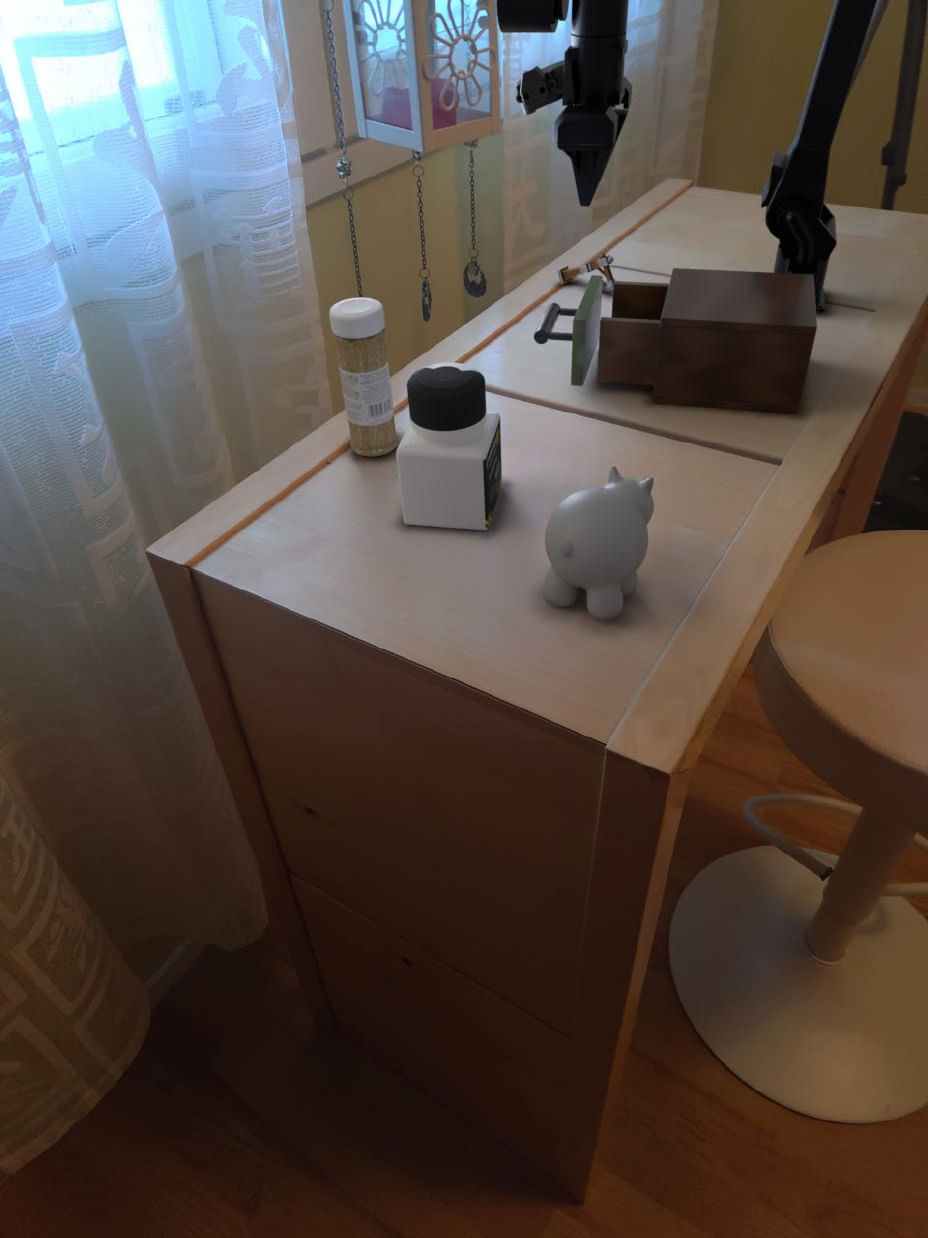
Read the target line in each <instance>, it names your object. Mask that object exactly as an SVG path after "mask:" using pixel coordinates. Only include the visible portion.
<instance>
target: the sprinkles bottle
mask: <svg viewBox="0 0 928 1238" xmlns="http://www.w3.org/2000/svg"><path fill="white" fill-rule="evenodd" d="M329 322H330V328H331V332H332V335H333V337H334V338H335V339H334V340H335V346H336V353H337V359H338V370H339V376H340V381H341V389H342V395H343V402H344V409H345V415H346V419H347V423H348V429H349V436H350V448H351V449H352V451H353V452H354V453H356V454H357V455H359V456H362V457H368V458H369V457H370V458H371V457H380V456H384V455H387V454H389V453H391V452H393V451H394V450H395V449H396V448H397V446H398V445H399V438H398V435H397V431H396V422H395V409H394V401H393V392H392V381H391V375H390V366H389V360H388V354H387V346H386V338H385V329H386V328H385V327H386V320H385V312H384V307H383V304H382V303H381V302H380V301H379V300H377V299H374V298H370V297H352V298H350V297H349V298H346V299H343V300H339V301H337V302H336V303H334V304H333V305H332V306H331V307H330V309H329Z"/></svg>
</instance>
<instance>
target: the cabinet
mask: <svg viewBox="0 0 928 1238" xmlns="http://www.w3.org/2000/svg"><path fill="white" fill-rule="evenodd" d="M668 284H669V287H668V291H667V295H666V300H665V304H664V308H663V312H662V316H661V323H660V333H659V343H658V353H657V363H656V373H655V382H654V385H653V394H652V403H653V404H661V405H662V404H663V405H676V406H687V407H700V408H713V409H714V408H715V409H725V410H737V411H751V412H763V413H775V414H777V413H778V414H787V415H798V414H799V410H800V407H801V401H802V397H803V392H804V388H805V383H806V381H807V380H806V379H807V375H808V370H809V366H810V361H811V356H812V352H813V348H814V343H815V338H816V334H817V329H818V323H817V322H818V321H817V312H816V305H815V290H814V276H813V274H793V273H773V272H771V271H770V272H768V271H767V272H766V271H745V270H727V269H726V270H723V269H704V268H703V269H702V268H701V269H700V268H683V267H682V268H680V267H679V268H678V267H673V268H672V271H671V276H670V280H669V283H668Z"/></svg>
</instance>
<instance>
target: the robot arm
mask: <svg viewBox="0 0 928 1238" xmlns="http://www.w3.org/2000/svg"><path fill="white" fill-rule="evenodd" d="M495 2H496V3H495V5H496V7H495V8H496V19H497V20H496V21H497V26H498V29H499V31H500V32H501V33H502V34H510V33H511V34H512V33H513V34H514V33H515V34H521V33H522V34H529V33H531V34H540V33H541V34H542V33H545V34H546V33H547V34H548V33H549V34H550V33H551V34H553V33H556V30H557V28H558V26H559V22H566V20H567V18H568V13H569V7H570V0H496V1H495ZM629 2H630V0H571V17H570V18H571V20H570V21H571V22H570V44H569V46H568V47H567V48H566V50H564V57H563V58H564V59H562V60H558V61H556V62H554V63H552V64H549V65H547V66H545V67H542V68H540V67H539V65H536V66H535V67H533V68H531V69H529V70H524V71H523V72H522V73H521V78H520V79H519V80H518V81H517V82H516V83H515V85H514V86H515V90H516V96H515V100H516V102H517V103H518V104H520V106H521V109H522V111H523V115H524V116H529V115H532V114H534V113H536V111H537V110H539V109H541V108H544V107H546V106H549V105H551V104H554V103H557V102H558V101H561V104H562V105H561V106H563V107H565V108H564V109H563V110H562V111H561V112H560V113H559V114H558V115H557V117H556V118H555V120H554V122H553V124H552V125H553V126H552V127H553V128H552V143H553V144H555V146H556V148H557V149H558V150H560V151H562V152H563V153H564V154H565V155H566V156H567V157H568V158H569V159H570V161H571V166H572V171H573V176H574V182H575V187H576V192H577V197H578V204H579V206H580V207H582V208H583V207H585V208H586V207H587V208H589V207H591V204H592V202H593V199H594V197H595V195H596V192H597V189H598V186H599V184H600V182H601V181H602V179H603V176H604V174H605V171H606V169H607V167H608V164H609V162H610V159H611V156H612V154H613V151H614V149H615V148H616V144H617V142H618V139H619V137H620V134H621V132H622V130H623V127H624V125H625V122H626V119H627V117H628V115H629V109H630V107H631V105H632V96H633V95H632V94H633V85H632V83H631V82H630V81H629V80H628V78H627V77H626V76H625V62H626V54H627V53H628V50H629V49H628V48H629V40H628V39H627V31H628V17H629V16H628V15H629ZM877 2H878V0H834V2H833V5H832V9H831V12H830V16H829V18H828V19H829V20H828V24H827V27H826V30H825V33H824V37H823V40H822V43H821V48H820V50H819V54H818V57H817V61H816V65H815V68H814V71H813V75H812V78H811V81H810V85H809V89H808V92H807V96H806V99H805V103H804V106H803V110H802V112H801V117H800V120H799V124H798V127H797V131H796V134H795V136H794V138H793V140H792V142H791V144H790V146H789V148H788V150H787V151H786V153H782V152H779V151H777V150H774V151H773V153H772V161H771V170H770V174H769V177H768V179H767V181H766V183H765V184H764V185H763V188H762V195H761V203H760V208H762V209H763V208H765V217H764V220H765V226H766V228H767V229H768V231H769V233H770V234H771V235H772V236H773V237H775V238H776V239H777V240H779V243H778V245H777V251H776V256H775V262H774V267H773V272H772V273H793V274H813V276H814V290H815V305H816V313H824V312H825V310H826V300H825V289H824V285H825V282H826V276H827V272H828V268H829V263H830V258H831V255H832V253H833V252H834V250H835V248H836V247H837V245H838V243H837V242H838V241H837V225H836V216H835V215H834V213H833V212H832V211H831V209H830V208H829V207H828V206H827V205H826V203H825V195H826V188H827V181H828V174H829V173H828V172H829V165H830V156H831V149H832V145H833V141H834V139H835V136H836V132H837V129H838V126H839V123H840V121H841V120H840V119H841V117H842V113H843V110H844V108H845V103H846V100H847V97H848V94H849V91H850V88H851V84H852V82H853V78H854V75H855V73H856V68H857V66H858V62H859V60H860V56H861V53H862V49H863V46H864V43H865V40H866V37H867V34H868V31H869V28H870V26H871V25H870V24H871V21H872V19H873V15H874V12H875V9H876V5H877ZM620 105H622V106H623V108H617V106H620Z"/></svg>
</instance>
